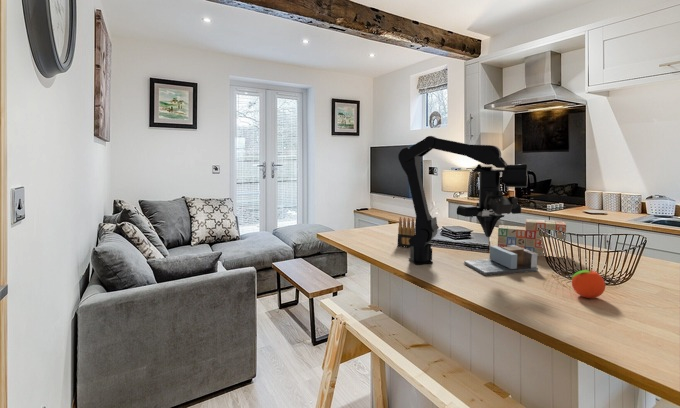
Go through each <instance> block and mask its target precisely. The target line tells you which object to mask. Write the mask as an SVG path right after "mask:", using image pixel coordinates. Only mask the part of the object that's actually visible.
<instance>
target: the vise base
mask: <svg viewBox="0 0 680 408" xmlns="http://www.w3.org/2000/svg"><path fill="white" fill-rule="evenodd" d="M512 246H516V245H509V247H512ZM516 247H518V246H516ZM519 248H521V247H519ZM522 249H524V248H522ZM537 254H538V253H535V252H532V251H529V250H527V249H524V256H523V265H517V269H510V268H508V267H506V266H503V265H501V264H499V263H497V262H495V261H493V260H491V259H490V258H485V259H473V260H472V259H471V260H463V261H464V262H463V264H464V265H465V266H467V267H469V268H470V269H472V270H474V271H476V272H477V273H480V274H481V275H483V276H486V277H487V276H497V275H507V274H519V273H520V274H521V273H531V272H538V271H539V268H538V256H537Z"/></svg>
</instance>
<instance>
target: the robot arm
mask: <svg viewBox="0 0 680 408" xmlns="http://www.w3.org/2000/svg"><path fill="white" fill-rule="evenodd" d="M432 150H437V151H443V152H447V153H452V154H456V155H460V156H465V157H468V158H470V159H472V160H475V161H476V162H479V163H478V164H477V166H476V167H475V168H473V169H472V172H473V173H479V181H478V182H479V183H478V184H479V185H478V186H479V189H477V190H476V194H478V202H476V206H475V205H471V204H464V205H463V204H462V205H461V204H460V205H458V207H456V215H457V216H463V217H465V218H468V217H469V218H472V217H476V219H477V220H478V222H479V224H480V226H481V228H482V231H483V233H484V235H485V237H486V238H491V236H492V234H493V231H494V229H495V226H496V224H497V222H498V221H499V220H501V218H505V214H507V215H510V214H512V215H515V214H517V215H518V214H521V213H522V207H521V205H520V204H519V203H518V197H517V196H514V195H512V196H508V197H505V196H504V192H503V190H502V189H501V188H500V187H501V186H500V184H503V185H505V187H506V188H527V187H528V179H529V177H528V176H529V175H528V164H527V163H521V164H520V163H519V164H508V163H507V162H506V161H505V160H504V159H503V157H502V151H501V149H500V148H499V147H498V146H495V145H490V144H489V145H488V144H470V143H469V144H468V143H463V142H459V141H454V140H450V139H449V140H448V139H445V138H440V137H437V136H433V135H428V136H426V137H425V138H424V139H422V140H421V141H418V142H417V143H414V144H413V145H411V146H410V147H404V148H402V149H401V150H400V151H399V153H398V156H397V158H398V162H399V163H400V166H401V168H402V170H403V171H404V174H406V177H407V181H408V182H407V183H408V185H409V190H410V191H409V192H410V195H411V198H412V199H411V200H412V205H413V208H414V212H415V221H414V226H415V235H414V236H413V237H412V238H411V239H409V243H410V248H409V249H410V256H409V257H408V260H409V261H410V262H411V263H412V264H413V265H426V264H433V263H434V261H433V248H432V244H431V242H432V239H434V238H435V237H436V236H437V235H438V229H439V228H440V227H439V225H438V222H437V217H436V216H434V217H433V216H432V215H431V213H430V210H429V206H428V201H427V198H426V193H425V188H424V183H423V180H422V175H421V170H422V169H421V167H422V157H424V156H425V155H427V154H428V153H429V152H430V151H432ZM480 163H481V164H480ZM482 164H484V165H487V166H483V165H482ZM488 165H489V166H488ZM490 165H492V166H490ZM493 166H494V167H495V168H497V169H493ZM500 182H501V183H500Z"/></svg>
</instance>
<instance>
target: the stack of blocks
mask: <svg viewBox="0 0 680 408" xmlns="http://www.w3.org/2000/svg"><path fill="white" fill-rule="evenodd" d="M538 228H545V229H548V230H553V229H554V230H557V231H562V232H567V223H566V221H558V220H557V221H556V220H553V219H551V220H550V219H531V218H526V219H525V225H524V226H516V225H506V224H505V225H503V224H499V225H498V229H497V231H498V232H497V237H498V238H497V246H498V247H500V248H502V247H509V245H516V246H518V247H521V248H524V249H527V250H529V251H532V252H535V253H538V254H537V257H544V253H543V248H542V244H541V240H540V235H539V230H538ZM557 236H558V238H559V239H561V240H562V239H563V234H562V233H561V232H558V233H557ZM564 236H565V240H566V238H567V233H566V234H565V235H564Z"/></svg>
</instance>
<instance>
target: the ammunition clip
mask: <svg viewBox="0 0 680 408" xmlns="http://www.w3.org/2000/svg"><path fill="white" fill-rule="evenodd" d="M397 229H398V232H397V233H398V234H397V245H398V246H397V245H396V246H397V247H400V246H405V247H404V248H408V247H410V243H409V239H411V238H412V237H413V236H414V235H415V219H414V217H413V218H411V219H410V217H407V220H406V217H403V220H402V217H401V216H400V217H399V218H398V228H397Z"/></svg>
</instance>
